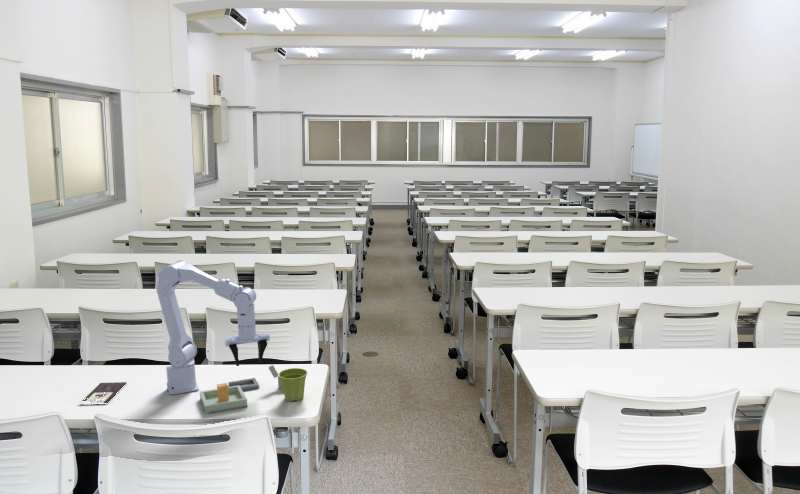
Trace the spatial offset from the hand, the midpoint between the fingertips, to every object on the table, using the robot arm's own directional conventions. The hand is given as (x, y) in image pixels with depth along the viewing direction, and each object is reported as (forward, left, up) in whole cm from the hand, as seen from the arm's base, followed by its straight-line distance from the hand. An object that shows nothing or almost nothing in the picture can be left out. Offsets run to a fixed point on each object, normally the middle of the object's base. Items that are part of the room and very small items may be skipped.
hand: (248, 363), depth 231 cm
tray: (-10, -6, -10) cm, 15 cm away
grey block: (+10, -1, -10) cm, 14 cm away
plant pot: (+12, -12, -10) cm, 20 cm away
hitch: (-2, +5, -10) cm, 11 cm away
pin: (-10, -6, -9) cm, 15 cm away
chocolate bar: (-46, +19, -11) cm, 51 cm away
